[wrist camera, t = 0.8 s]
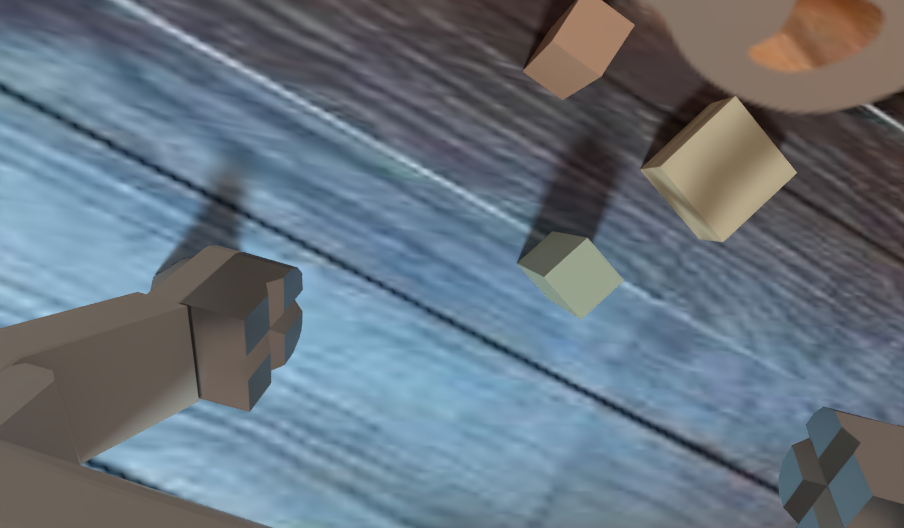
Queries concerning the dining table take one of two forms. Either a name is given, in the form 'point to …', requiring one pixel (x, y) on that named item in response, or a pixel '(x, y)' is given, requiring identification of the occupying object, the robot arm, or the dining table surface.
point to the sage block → (570, 272)
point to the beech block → (718, 170)
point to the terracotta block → (578, 47)
